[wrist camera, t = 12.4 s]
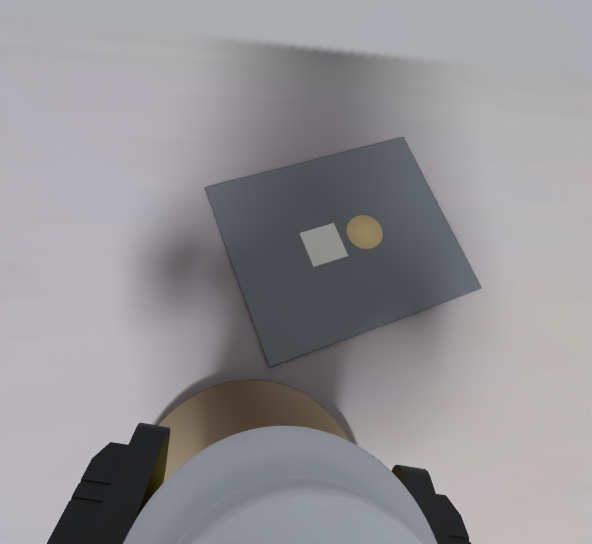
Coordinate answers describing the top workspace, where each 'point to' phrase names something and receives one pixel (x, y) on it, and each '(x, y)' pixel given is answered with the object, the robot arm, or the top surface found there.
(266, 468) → the supplement bottle
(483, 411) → the top surface
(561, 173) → the top surface
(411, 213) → the gray board
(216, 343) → the top surface
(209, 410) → the cork coaster
